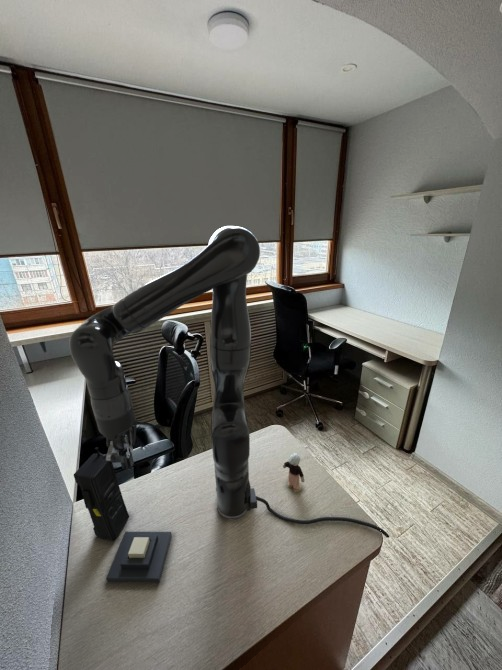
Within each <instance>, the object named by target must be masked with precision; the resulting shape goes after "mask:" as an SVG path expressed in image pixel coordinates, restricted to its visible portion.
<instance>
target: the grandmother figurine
mask: <svg viewBox="0 0 502 670" xmlns="http://www.w3.org/2000/svg"><path fill="white" fill-rule="evenodd" d="M300 461H301V456H300V455H299V454H298V453H292V454H291V455H290V456H289V457H288V460H287V461H285V462H284V463H283V464H282V468H283V469H286V468H288V476H287V477H288V482H287V485H286V486H287V488H288V489H292V488H293V492H294V493H299V492H301V491H302V490H303V487H302V486H301V485H300V481H301V483H305V476H304V472H303V471H302V468H301V467H300V465H299V464H300V463H301V462H300Z"/></svg>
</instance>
